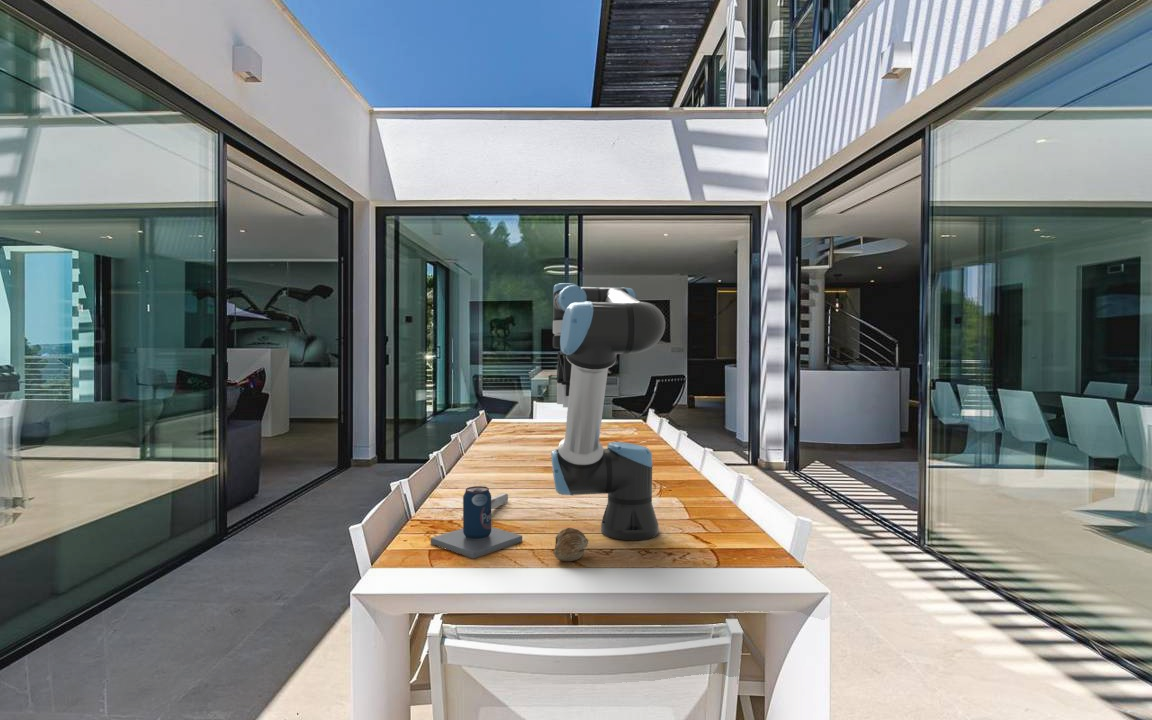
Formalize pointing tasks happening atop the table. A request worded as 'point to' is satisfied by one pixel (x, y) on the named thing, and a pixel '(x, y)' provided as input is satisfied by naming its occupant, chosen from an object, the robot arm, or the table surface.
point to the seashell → (570, 545)
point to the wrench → (499, 500)
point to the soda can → (477, 513)
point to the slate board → (476, 542)
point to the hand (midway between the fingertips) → (564, 405)
